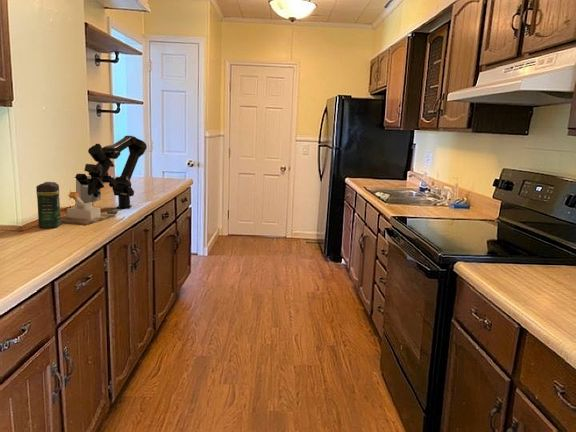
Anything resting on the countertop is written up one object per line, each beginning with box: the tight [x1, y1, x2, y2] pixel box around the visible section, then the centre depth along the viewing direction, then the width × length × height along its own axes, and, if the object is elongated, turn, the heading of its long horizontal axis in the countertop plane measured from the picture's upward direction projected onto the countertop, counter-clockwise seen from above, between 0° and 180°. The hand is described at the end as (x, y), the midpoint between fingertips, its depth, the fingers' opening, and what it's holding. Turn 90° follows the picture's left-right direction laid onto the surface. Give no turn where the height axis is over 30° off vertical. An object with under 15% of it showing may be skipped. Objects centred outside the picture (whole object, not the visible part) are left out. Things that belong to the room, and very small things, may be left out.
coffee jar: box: [35, 181, 62, 229], centre depth 186 cm, size 10×8×19 cm
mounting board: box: [61, 212, 116, 226], centre depth 204 cm, size 20×18×1 cm
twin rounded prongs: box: [106, 208, 119, 215], centre depth 217 cm, size 7×12×2 cm, turn 77°
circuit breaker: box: [76, 179, 102, 207], centre depth 229 cm, size 8×14×15 cm, turn 78°
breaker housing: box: [66, 202, 102, 219], centre depth 203 cm, size 7×12×6 cm, turn 77°
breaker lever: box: [68, 191, 85, 208], centre depth 199 cm, size 2×3×10 cm
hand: (88, 194), depth 206 cm, fingers closed
